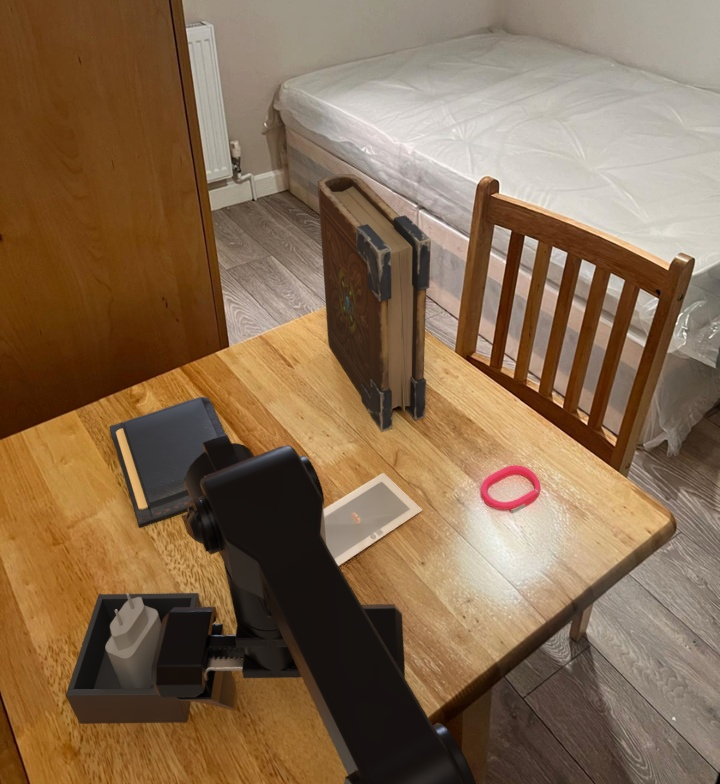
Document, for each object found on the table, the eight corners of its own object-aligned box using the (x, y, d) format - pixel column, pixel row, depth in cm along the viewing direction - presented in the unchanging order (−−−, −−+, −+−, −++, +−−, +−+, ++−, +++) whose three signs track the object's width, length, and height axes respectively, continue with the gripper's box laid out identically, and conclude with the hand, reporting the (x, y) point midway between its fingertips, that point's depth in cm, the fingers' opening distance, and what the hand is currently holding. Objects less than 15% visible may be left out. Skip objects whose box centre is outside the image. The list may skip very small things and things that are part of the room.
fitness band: (500, 521, 91) (501, 513, 90) (471, 490, 95) (472, 482, 94) (549, 494, 94) (550, 486, 94) (519, 465, 99) (520, 457, 98)
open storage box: (186, 722, 72) (177, 694, 69) (79, 723, 72) (65, 695, 69) (205, 621, 81) (198, 592, 78) (109, 623, 81) (98, 594, 78)
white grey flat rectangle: (288, 536, 90) (287, 525, 89) (383, 478, 97) (383, 466, 96) (325, 580, 85) (324, 569, 84) (422, 515, 92) (422, 504, 91)
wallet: (249, 479, 95) (131, 520, 90) (250, 489, 96) (134, 530, 91) (209, 387, 110) (106, 418, 105) (211, 396, 111) (109, 427, 106)
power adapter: (117, 687, 75) (90, 621, 68) (148, 640, 79) (125, 573, 72) (143, 698, 74) (117, 632, 67) (173, 650, 78) (152, 582, 71)
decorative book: (424, 417, 106) (431, 239, 89) (380, 432, 104) (378, 252, 87) (360, 329, 124) (355, 166, 107) (321, 340, 122) (309, 176, 105)
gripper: (399, 500, 58) (397, 612, 67) (166, 504, 58) (196, 615, 67) (406, 632, 49) (404, 741, 58) (130, 636, 49) (170, 744, 58)
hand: (290, 703), depth 61 cm, fingers open, 9 cm apart
